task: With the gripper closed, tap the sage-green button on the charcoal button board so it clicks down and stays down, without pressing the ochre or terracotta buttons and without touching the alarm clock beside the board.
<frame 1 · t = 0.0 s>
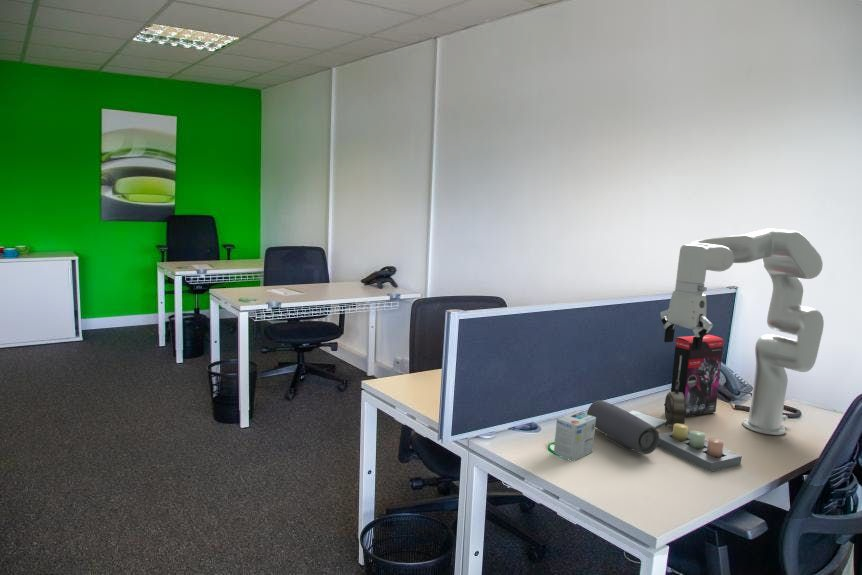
hand: (682, 345, 174), 31 cm above the table, tool pointing down, fingers open, 9 cm apart
bluetooth speaker: (619, 443, 180), on the table
external hard drive: (643, 422, 200), on the table
light bulb box: (573, 454, 171), on the table
alarm clock: (671, 428, 195), on the table
green button: (697, 439, 175), point 4 cm above the table, slide at 0.0 cm
terracotta button: (715, 448, 170), point 4 cm above the table, slide at 0.0 cm
graphics card box: (690, 413, 211), on the table
ochre button: (680, 432, 180), point 4 cm above the table, slide at 0.0 cm
button board: (695, 453, 176), on the table
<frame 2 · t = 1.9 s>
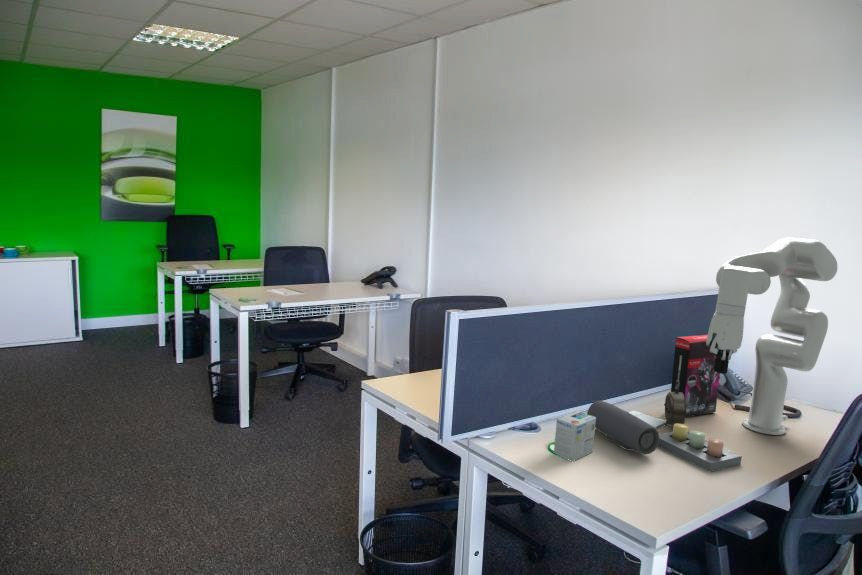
hand: (720, 372, 175), 24 cm above the table, tool pointing down, fingers closed
nothing on the table moved.
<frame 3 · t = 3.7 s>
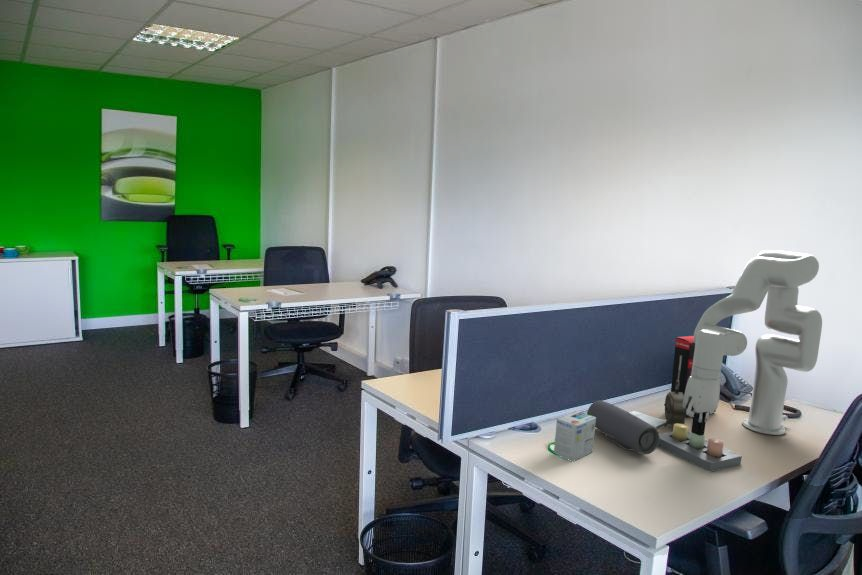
hand: (697, 433, 175), 6 cm above the table, tool pointing down, fingers closed
green button: (697, 439, 175), point 4 cm above the table, slide at 0.0 cm, touching gripper
everything else where it was.
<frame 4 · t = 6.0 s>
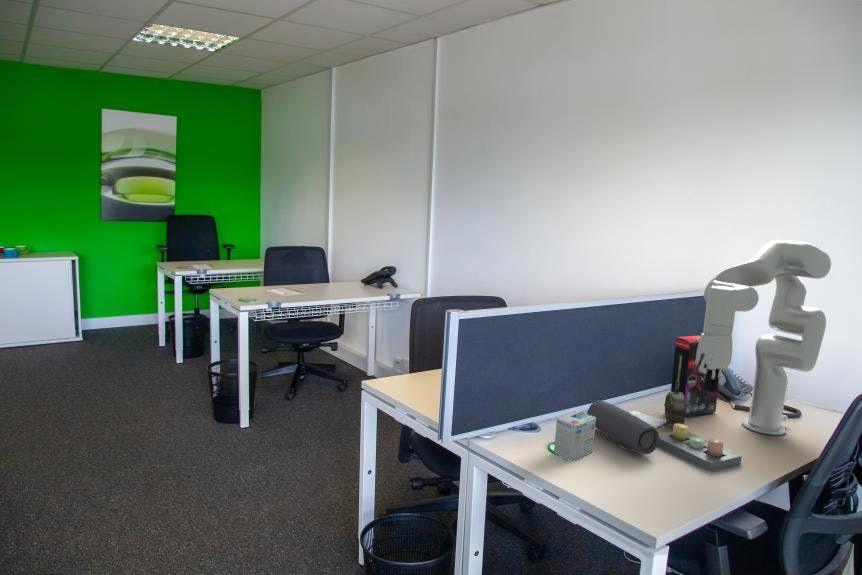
hand: (710, 390, 174), 19 cm above the table, tool pointing down, fingers closed
green button: (696, 446, 175), point 2 cm above the table, slide at -1.9 cm
everything else where it was.
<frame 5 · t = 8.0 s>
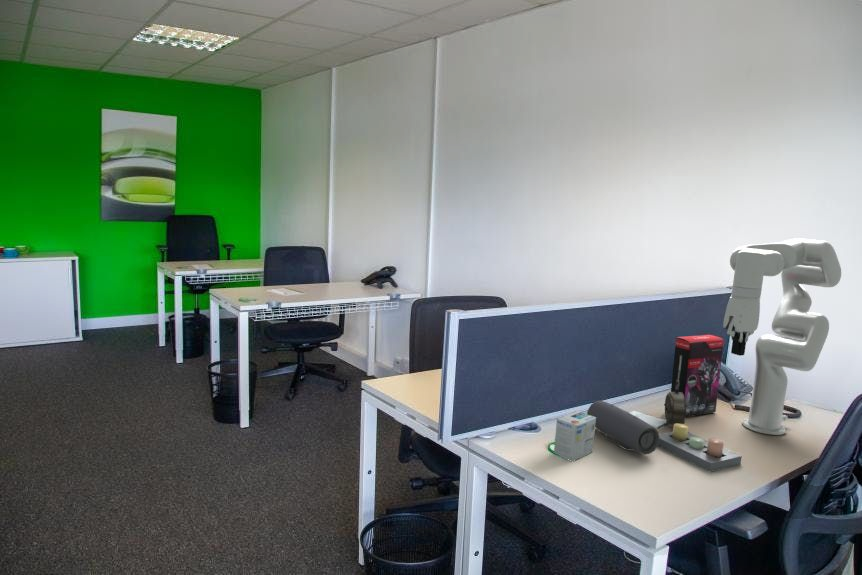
hand: (737, 354, 177), 29 cm above the table, tool pointing down, fingers closed
nothing on the table moved.
at the end: green button slide at -1.9 cm; ochre button slide at 0.0 cm; terracotta button slide at 0.0 cm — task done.
